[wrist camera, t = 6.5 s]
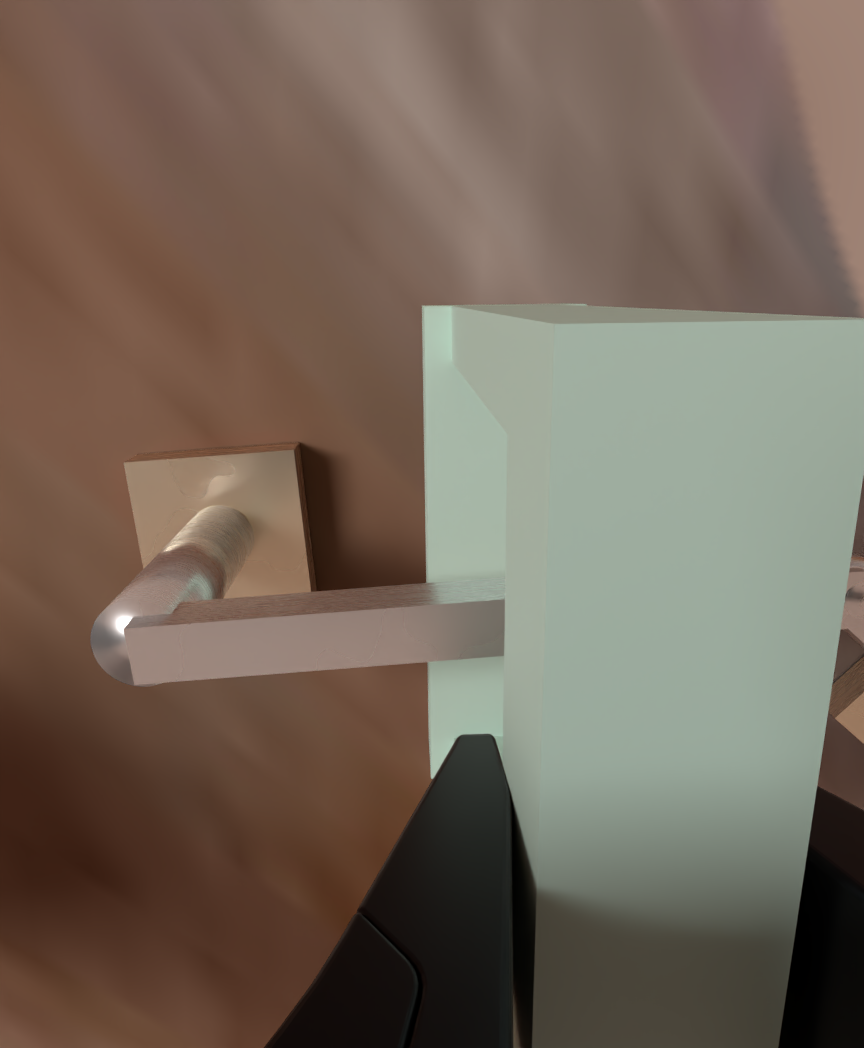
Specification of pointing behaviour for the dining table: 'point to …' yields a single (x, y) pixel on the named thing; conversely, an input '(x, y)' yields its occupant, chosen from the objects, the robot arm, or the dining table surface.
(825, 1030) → the robot arm
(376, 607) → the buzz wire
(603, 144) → the dining table surface
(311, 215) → the dining table surface
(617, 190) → the dining table surface
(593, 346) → the mint green frame
